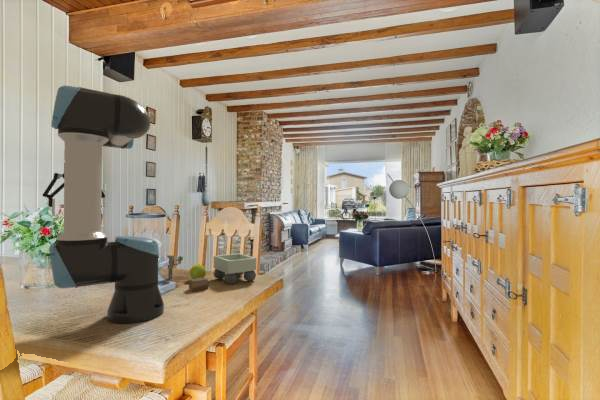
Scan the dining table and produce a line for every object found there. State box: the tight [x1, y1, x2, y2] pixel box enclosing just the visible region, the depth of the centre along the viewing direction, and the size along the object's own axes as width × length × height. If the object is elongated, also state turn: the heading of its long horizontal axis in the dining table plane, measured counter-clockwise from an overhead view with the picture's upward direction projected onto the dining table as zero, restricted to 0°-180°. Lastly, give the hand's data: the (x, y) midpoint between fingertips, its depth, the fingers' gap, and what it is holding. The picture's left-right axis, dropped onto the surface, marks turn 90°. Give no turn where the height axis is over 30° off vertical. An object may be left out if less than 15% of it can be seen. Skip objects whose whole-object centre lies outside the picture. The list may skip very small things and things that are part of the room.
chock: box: [188, 276, 209, 293], centre depth 124 cm, size 4×6×4 cm, turn 128°
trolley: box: [213, 253, 257, 285], centre depth 140 cm, size 15×14×10 cm
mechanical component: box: [166, 254, 184, 280], centre depth 141 cm, size 3×10×10 cm, turn 89°
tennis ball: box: [189, 264, 207, 279], centre depth 139 cm, size 7×7×7 cm
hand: (74, 215), depth 127 cm, fingers open, 13 cm apart
